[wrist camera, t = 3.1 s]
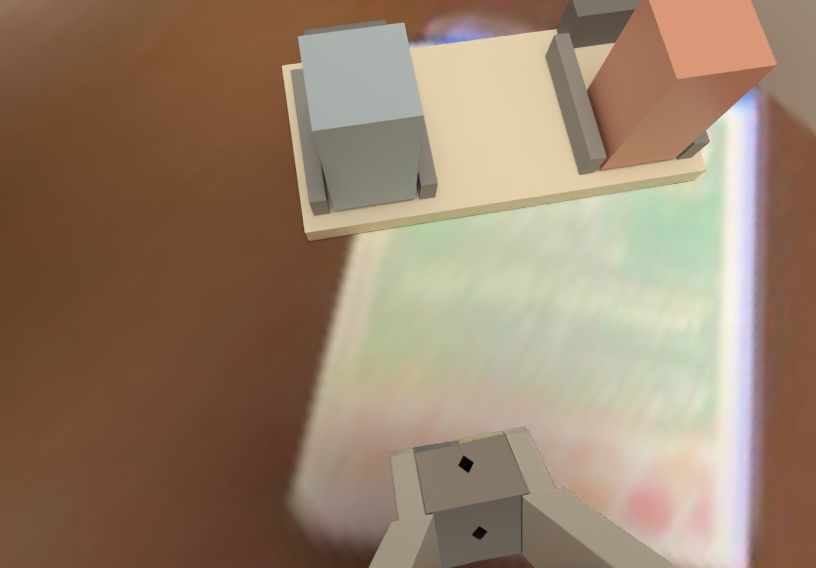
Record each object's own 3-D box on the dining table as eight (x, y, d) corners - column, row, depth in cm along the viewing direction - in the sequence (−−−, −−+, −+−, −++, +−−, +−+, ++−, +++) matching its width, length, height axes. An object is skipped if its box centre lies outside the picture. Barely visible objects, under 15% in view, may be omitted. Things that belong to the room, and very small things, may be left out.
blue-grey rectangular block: (414, 198, 31) (423, 115, 23) (334, 210, 31) (311, 131, 22) (400, 127, 33) (404, 22, 24) (323, 138, 32) (297, 36, 24)
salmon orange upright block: (674, 158, 33) (777, 64, 24) (600, 169, 32) (677, 79, 24) (652, 91, 34) (741, -21, 25) (580, 101, 34) (645, -9, 25)
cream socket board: (693, 180, 34) (736, 146, 30) (308, 241, 32) (295, 213, 28) (641, 32, 37) (674, -19, 33) (286, 80, 35) (271, 32, 31)
